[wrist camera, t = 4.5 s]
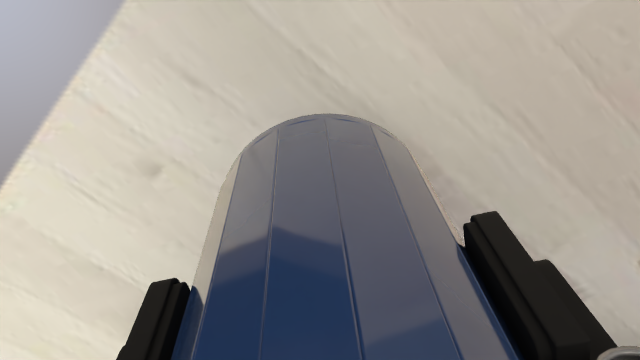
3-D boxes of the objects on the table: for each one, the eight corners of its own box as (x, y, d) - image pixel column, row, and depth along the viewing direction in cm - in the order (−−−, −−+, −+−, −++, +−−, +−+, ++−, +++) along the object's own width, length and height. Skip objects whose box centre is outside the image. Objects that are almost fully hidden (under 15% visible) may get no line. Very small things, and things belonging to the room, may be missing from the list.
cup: (413, 90, 13) (587, 321, 5) (437, 270, 16) (574, 594, 8) (191, 140, 14) (49, 425, 6) (253, 308, 17) (215, 653, 9)
